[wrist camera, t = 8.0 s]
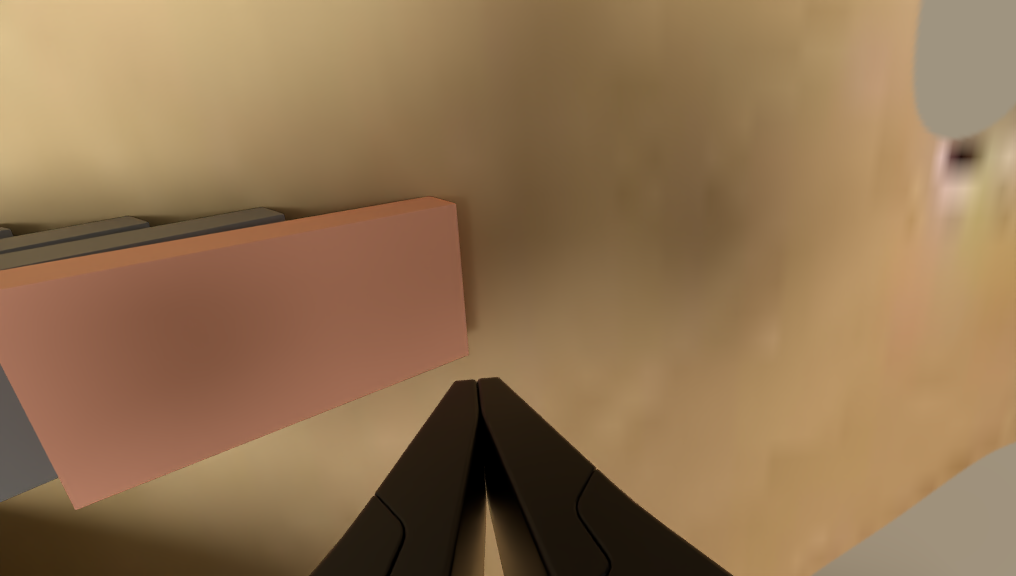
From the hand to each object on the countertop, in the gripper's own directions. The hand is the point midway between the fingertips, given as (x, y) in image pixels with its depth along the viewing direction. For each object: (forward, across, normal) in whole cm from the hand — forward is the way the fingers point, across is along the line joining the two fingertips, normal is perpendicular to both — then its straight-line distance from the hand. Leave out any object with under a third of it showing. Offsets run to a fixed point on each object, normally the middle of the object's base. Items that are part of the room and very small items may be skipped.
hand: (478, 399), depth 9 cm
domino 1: (+7, 0, 0) cm, 7 cm away
